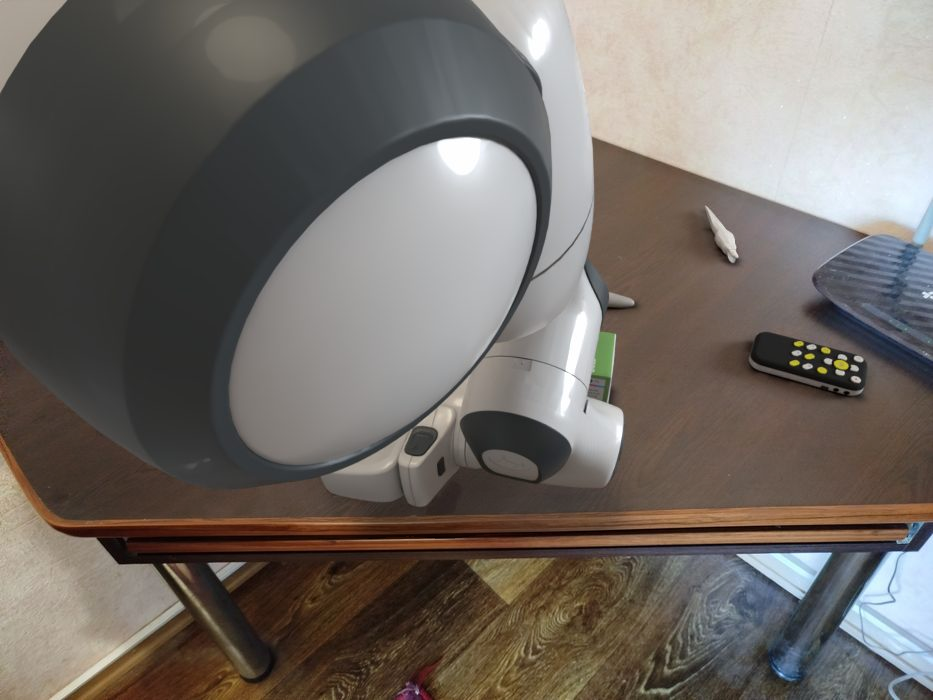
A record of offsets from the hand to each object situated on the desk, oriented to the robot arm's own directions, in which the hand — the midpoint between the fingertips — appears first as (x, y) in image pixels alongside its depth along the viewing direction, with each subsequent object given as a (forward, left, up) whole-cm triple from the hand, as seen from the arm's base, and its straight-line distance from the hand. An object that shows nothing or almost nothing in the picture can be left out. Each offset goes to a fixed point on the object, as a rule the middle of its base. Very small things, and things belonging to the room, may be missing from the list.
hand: (319, 390), depth 65 cm
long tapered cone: (+37, -11, -12) cm, 40 cm away
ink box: (+19, -22, -12) cm, 32 cm away
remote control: (+37, -43, -12) cm, 58 cm away
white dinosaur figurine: (+61, -27, -12) cm, 68 cm away
